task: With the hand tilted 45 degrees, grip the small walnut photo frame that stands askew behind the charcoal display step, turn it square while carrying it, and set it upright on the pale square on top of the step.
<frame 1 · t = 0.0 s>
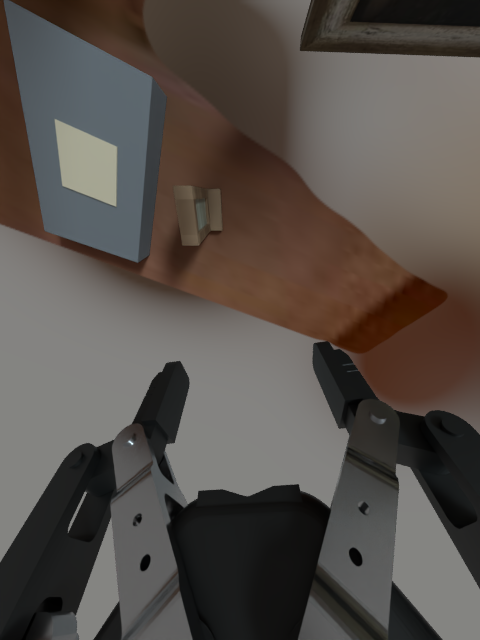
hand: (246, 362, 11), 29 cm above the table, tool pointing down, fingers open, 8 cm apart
walnut frame: (204, 210, 32), on the table
display step: (110, 171, 29), on the table
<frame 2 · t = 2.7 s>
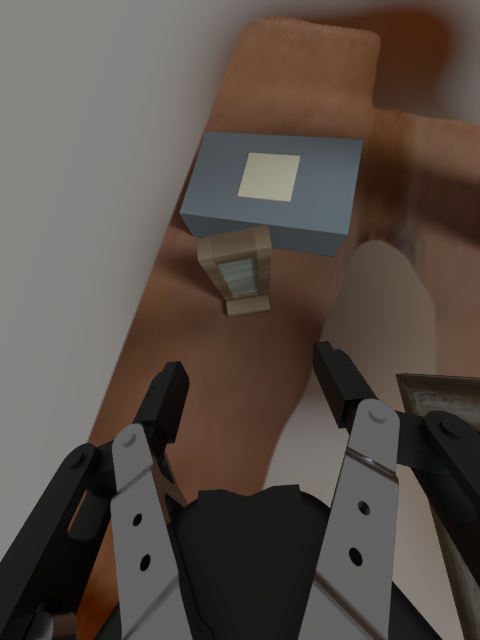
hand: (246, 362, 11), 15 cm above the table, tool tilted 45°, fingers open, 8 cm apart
walnut frame: (246, 294, 28), on the table
display step: (267, 206, 30), on the table
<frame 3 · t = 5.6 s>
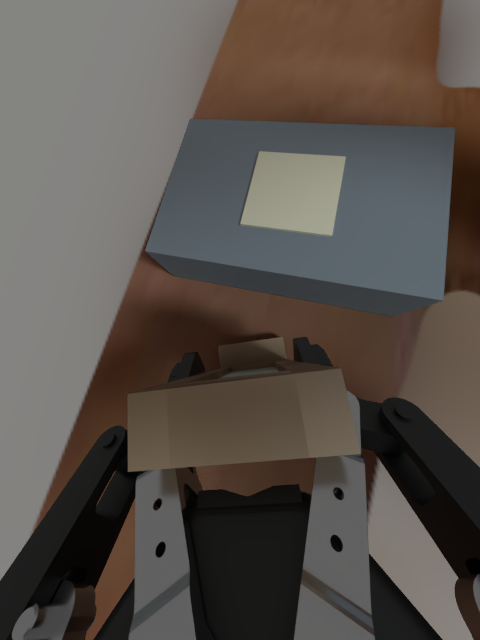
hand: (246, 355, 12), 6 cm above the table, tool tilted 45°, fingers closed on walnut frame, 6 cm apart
walnut frame: (255, 374, 18), on the table, touching gripper
display step: (285, 232, 20), on the table
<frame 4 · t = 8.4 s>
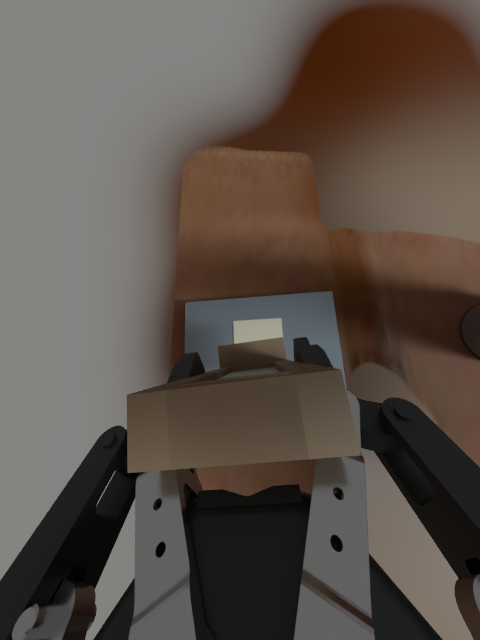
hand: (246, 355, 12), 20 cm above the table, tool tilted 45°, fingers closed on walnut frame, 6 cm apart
walnut frame: (255, 374, 18), point 14 cm above the table, touching gripper
display step: (259, 345, 32), on the table
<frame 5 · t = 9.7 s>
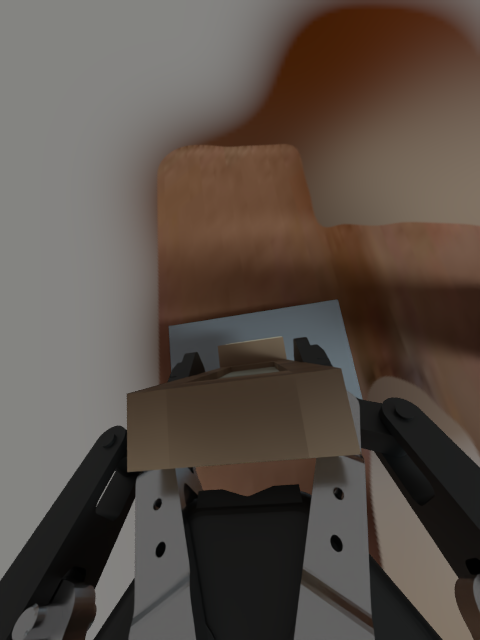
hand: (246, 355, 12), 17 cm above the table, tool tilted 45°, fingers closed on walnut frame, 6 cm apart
walnut frame: (255, 374, 18), point 10 cm above the table, touching gripper
display step: (258, 366, 28), on the table
when the fingers open (13 cm above the table, at t = 11.1 s): walnut frame drops 1 cm, resting on display step.
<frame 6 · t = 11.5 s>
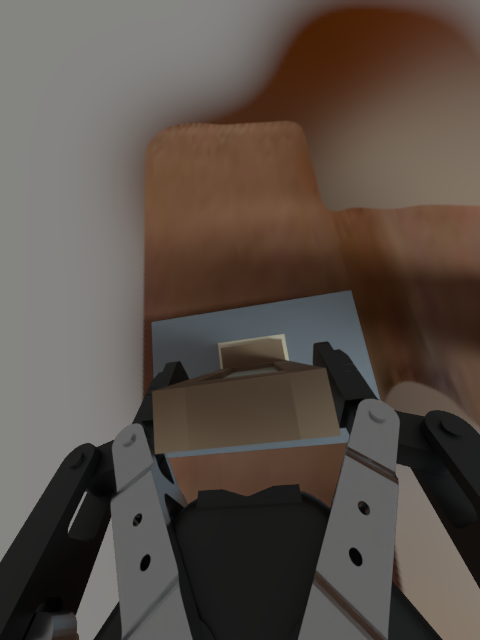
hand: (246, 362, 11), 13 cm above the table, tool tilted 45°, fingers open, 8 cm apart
walnut frame: (255, 373, 19), point 5 cm above the table, touching display step
display step: (257, 369, 24), on the table
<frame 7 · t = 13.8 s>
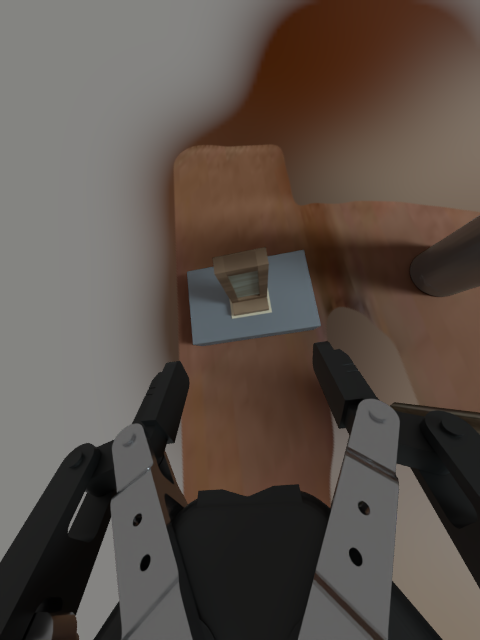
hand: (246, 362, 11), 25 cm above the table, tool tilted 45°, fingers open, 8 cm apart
walnut frame: (249, 296, 33), point 5 cm above the table, touching display step
display step: (250, 304, 38), on the table
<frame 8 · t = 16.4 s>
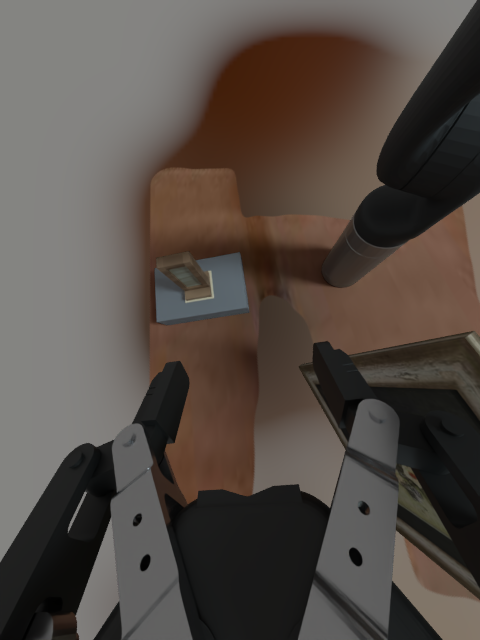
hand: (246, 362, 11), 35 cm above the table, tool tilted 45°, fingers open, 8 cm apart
walnut frame: (198, 286, 45), point 5 cm above the table, touching display step
display step: (204, 293, 50), on the table
picture frame: (358, 425, 40), on the table
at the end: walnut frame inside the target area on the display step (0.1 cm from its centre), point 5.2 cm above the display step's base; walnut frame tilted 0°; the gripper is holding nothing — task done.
